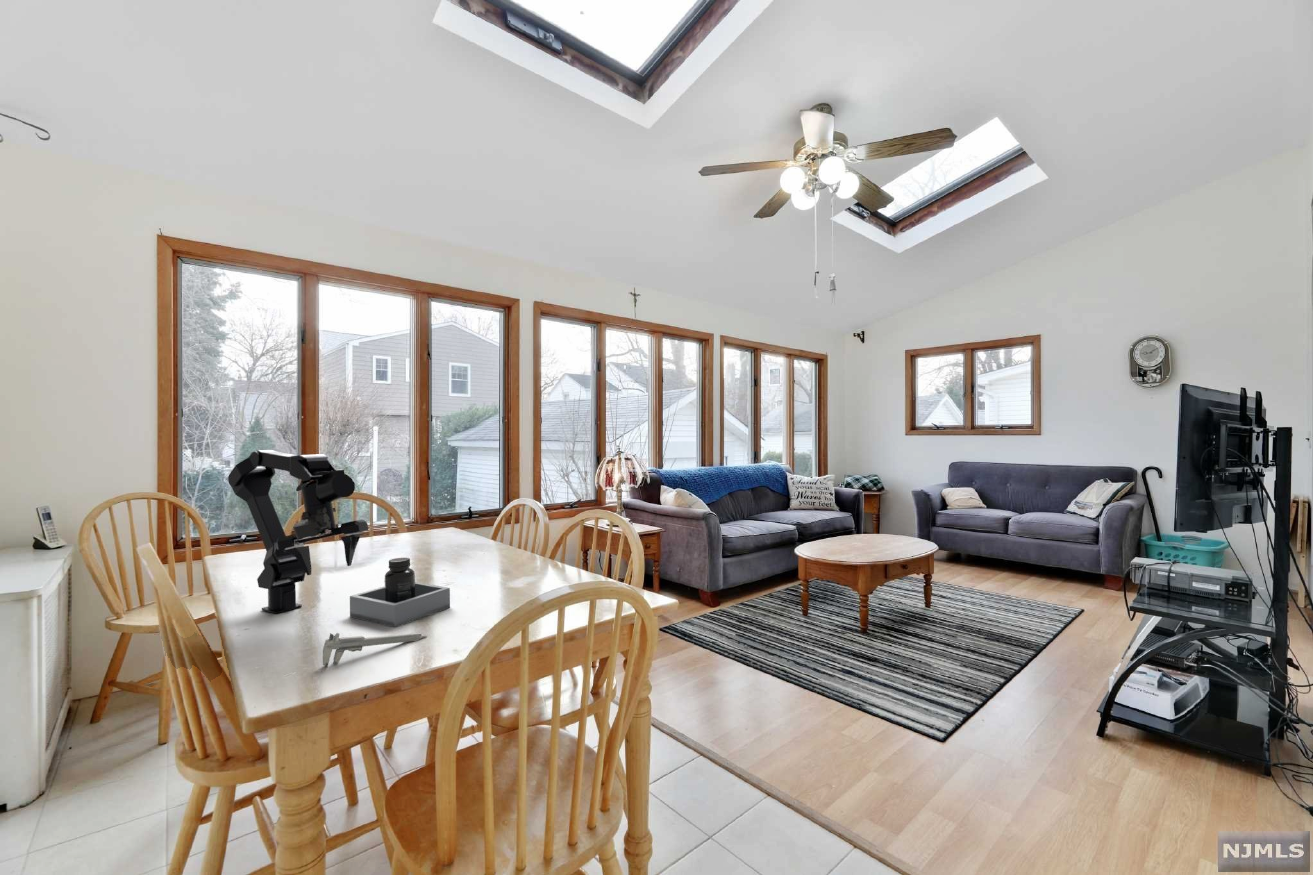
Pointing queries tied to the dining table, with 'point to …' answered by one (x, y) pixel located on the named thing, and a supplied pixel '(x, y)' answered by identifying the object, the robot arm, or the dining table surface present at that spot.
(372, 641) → the caliper
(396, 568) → the supplement bottle
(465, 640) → the dining table surface
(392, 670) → the dining table surface
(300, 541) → the robot arm
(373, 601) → the bin
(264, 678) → the dining table surface
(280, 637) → the dining table surface
